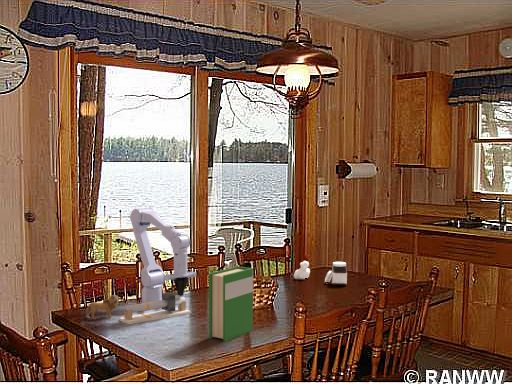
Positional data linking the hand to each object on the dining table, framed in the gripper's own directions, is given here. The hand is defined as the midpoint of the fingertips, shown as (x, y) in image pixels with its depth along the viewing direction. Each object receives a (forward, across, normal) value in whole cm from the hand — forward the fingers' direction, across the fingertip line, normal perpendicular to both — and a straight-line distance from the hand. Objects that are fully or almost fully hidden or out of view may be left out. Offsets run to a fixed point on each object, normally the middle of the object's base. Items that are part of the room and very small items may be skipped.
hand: (180, 295), depth 258 cm
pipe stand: (+7, -12, 0) cm, 14 cm away
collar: (+5, -6, 0) cm, 8 cm away
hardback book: (+8, -1, -39) cm, 40 cm away
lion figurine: (+8, -30, +12) cm, 33 cm away
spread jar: (+8, +96, +2) cm, 96 cm away
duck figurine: (+8, +92, +23) cm, 95 cm away
